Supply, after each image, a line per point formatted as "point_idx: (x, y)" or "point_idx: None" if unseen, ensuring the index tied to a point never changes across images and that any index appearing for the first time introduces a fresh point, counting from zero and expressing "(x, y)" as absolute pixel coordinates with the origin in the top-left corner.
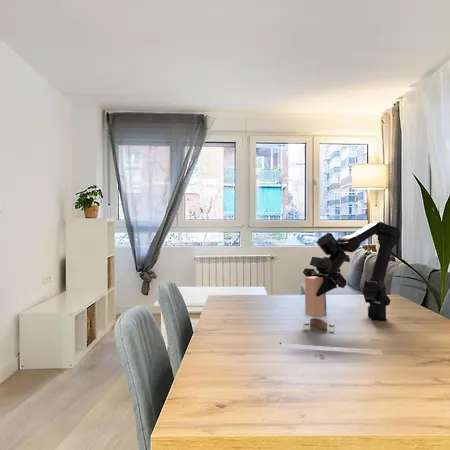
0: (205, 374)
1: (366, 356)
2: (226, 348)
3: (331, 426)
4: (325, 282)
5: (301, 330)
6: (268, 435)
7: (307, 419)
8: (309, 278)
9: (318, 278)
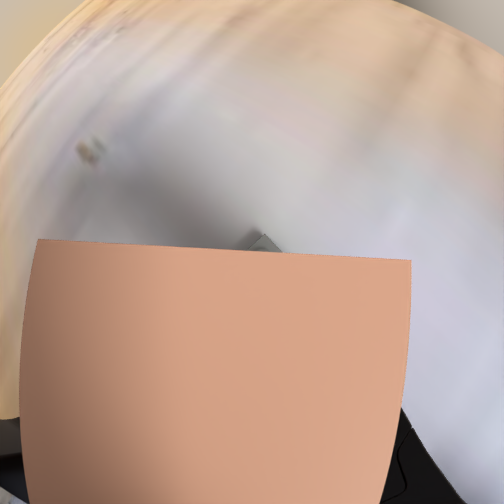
0: None
1: (22, 254)
2: (288, 10)
3: (22, 67)
4: (16, 422)
5: (279, 249)
6: (59, 23)
7: (40, 52)
8: (180, 252)
9: (21, 383)
